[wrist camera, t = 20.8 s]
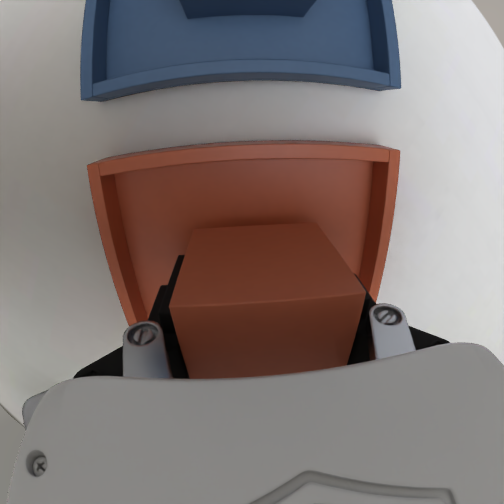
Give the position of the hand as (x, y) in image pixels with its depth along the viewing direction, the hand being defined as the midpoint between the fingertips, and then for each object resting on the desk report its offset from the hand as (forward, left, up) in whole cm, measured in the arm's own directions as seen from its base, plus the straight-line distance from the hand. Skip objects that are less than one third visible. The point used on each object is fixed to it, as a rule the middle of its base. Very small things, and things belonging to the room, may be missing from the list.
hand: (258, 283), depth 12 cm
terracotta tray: (0, 0, -3) cm, 3 cm away
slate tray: (0, +14, -3) cm, 14 cm away
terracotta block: (0, 0, 0) cm, 0 cm away
